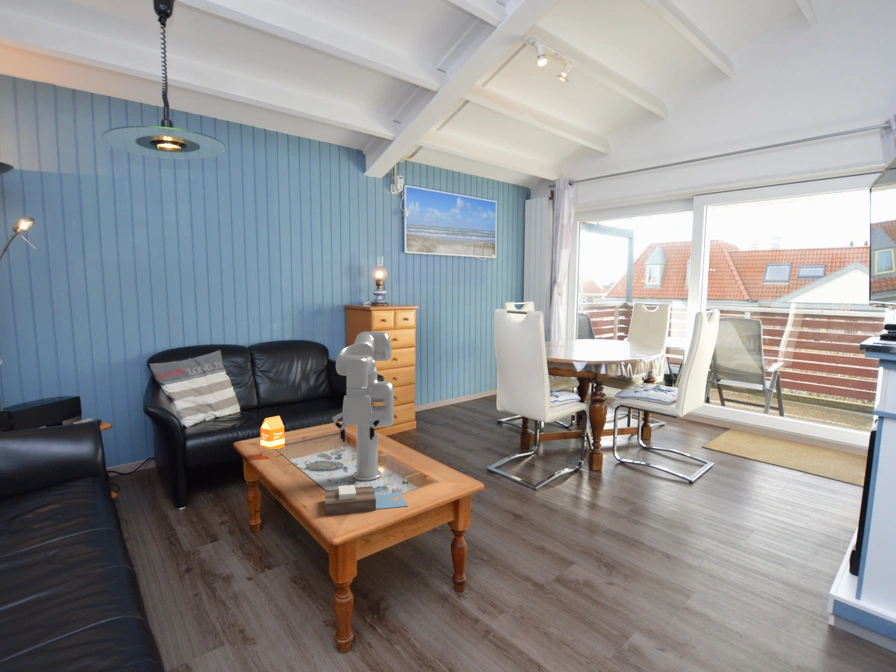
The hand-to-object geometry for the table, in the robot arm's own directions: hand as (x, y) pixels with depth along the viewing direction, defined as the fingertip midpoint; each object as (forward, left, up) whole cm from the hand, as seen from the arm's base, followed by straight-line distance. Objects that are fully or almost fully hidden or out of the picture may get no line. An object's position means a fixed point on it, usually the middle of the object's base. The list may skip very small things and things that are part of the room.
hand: (357, 439), depth 162 cm
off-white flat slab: (-9, -3, -22) cm, 24 cm away
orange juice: (-84, -38, -27) cm, 96 cm away
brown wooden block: (-9, -2, -27) cm, 29 cm away
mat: (-10, +13, -27) cm, 31 cm away
